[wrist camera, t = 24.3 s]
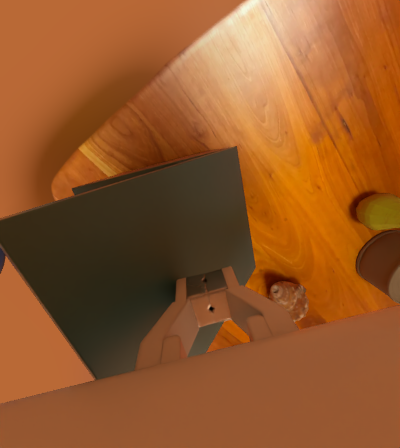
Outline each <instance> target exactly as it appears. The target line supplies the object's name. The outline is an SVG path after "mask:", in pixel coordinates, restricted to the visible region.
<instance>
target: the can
mask: <svg viewBox="0 0 400 448" xmlns="http://www.w3.org/2000/svg"><path fill="white" fill-rule="evenodd" d="M356 269H357V272H358V274H359V275H360V276H361V277H362V278H364V279H365V280H367V281H368V282H370V283H371V284H372V285H374V286H375V287H377V288H378V289H380V290H381V291H382V292H384V293H385V294H387V295H388V296H389V297H390V298H391V299H392V300H393V301H395V302H397V303H399V304H400V230H390V231H386V232H383V233H381V234H379V235H377V236H375V237H374V238H372V239H371V240H370V241H368V242H367V243H366V244H365V246H364V247H363V248H362V249H361V251H360V253H359V255H358V257H357V261H356Z"/></svg>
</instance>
